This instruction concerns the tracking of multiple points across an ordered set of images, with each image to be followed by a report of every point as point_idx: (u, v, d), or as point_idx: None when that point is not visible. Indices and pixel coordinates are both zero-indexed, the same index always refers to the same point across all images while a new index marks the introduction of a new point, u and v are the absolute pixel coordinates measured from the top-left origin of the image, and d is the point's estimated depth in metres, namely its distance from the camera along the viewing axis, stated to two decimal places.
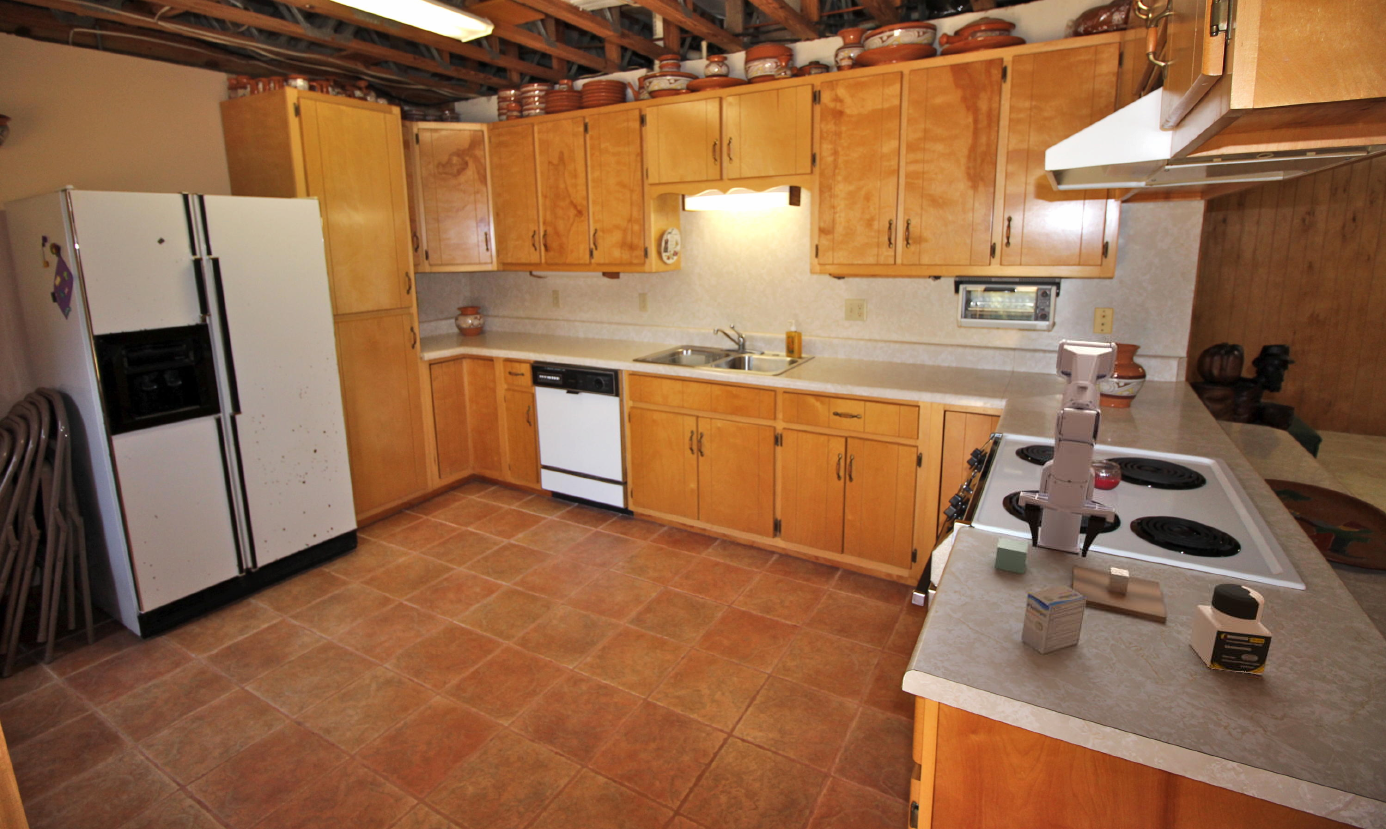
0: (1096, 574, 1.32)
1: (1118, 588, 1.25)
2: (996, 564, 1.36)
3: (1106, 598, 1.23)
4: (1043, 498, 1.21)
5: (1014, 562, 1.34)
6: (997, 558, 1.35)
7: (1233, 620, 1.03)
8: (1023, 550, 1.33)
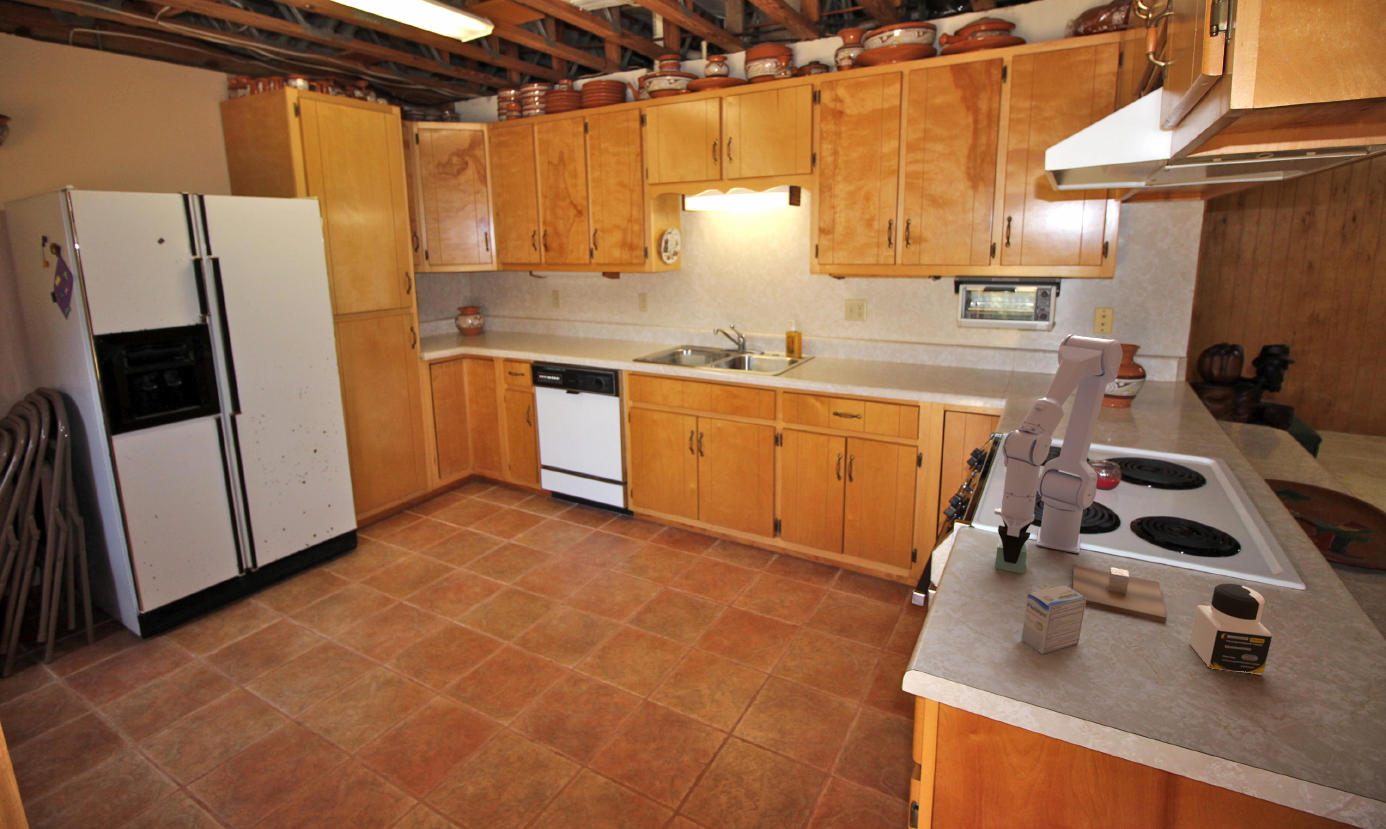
0: (1096, 574, 1.32)
1: (1118, 588, 1.25)
2: (996, 564, 1.36)
3: (1106, 598, 1.23)
4: None
5: None
6: (997, 558, 1.35)
7: (1233, 620, 1.03)
8: (1023, 550, 1.33)
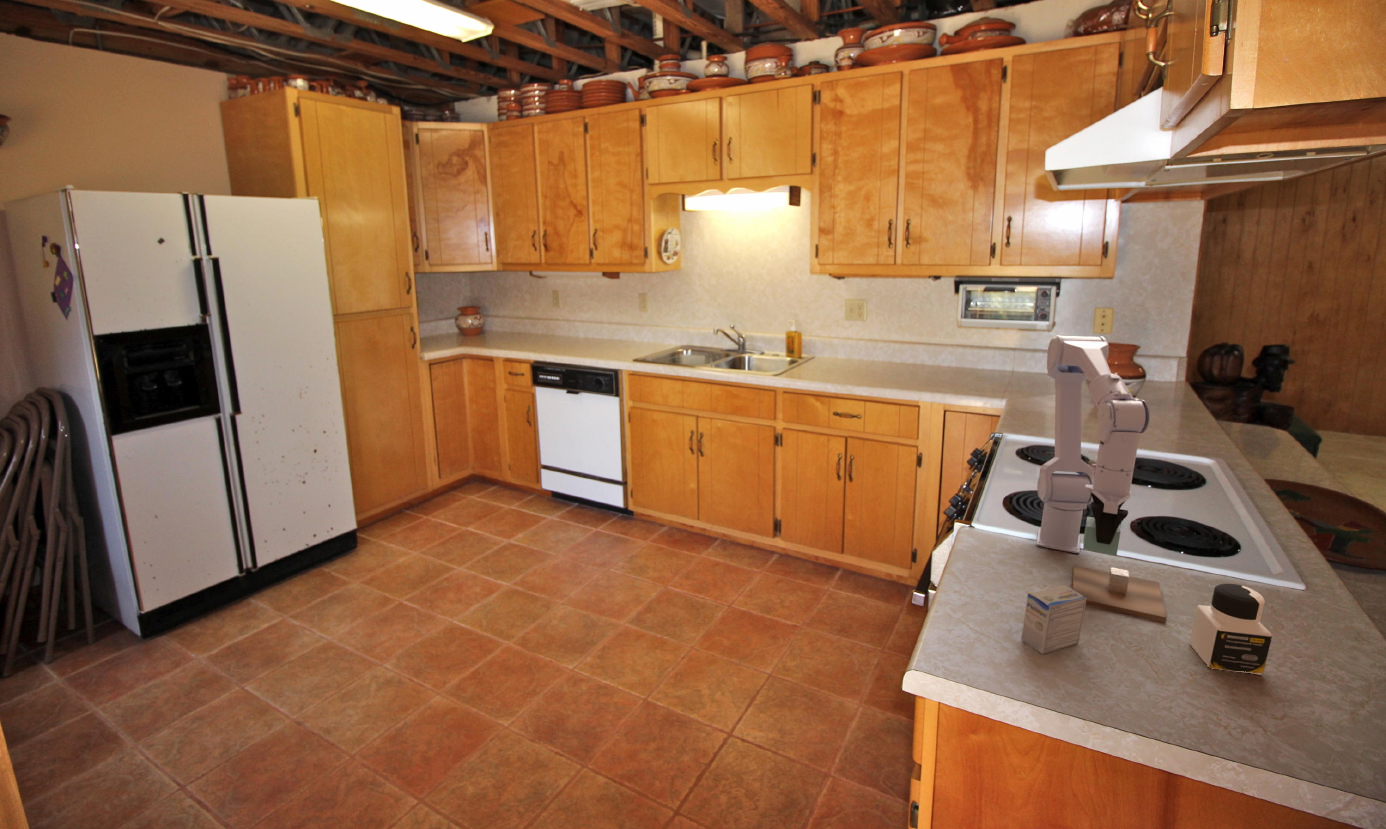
0: (1096, 574, 1.32)
1: (1118, 588, 1.25)
2: (1085, 545, 1.25)
3: (1106, 598, 1.23)
4: None
5: None
6: (1086, 539, 1.25)
7: (1233, 620, 1.03)
8: None
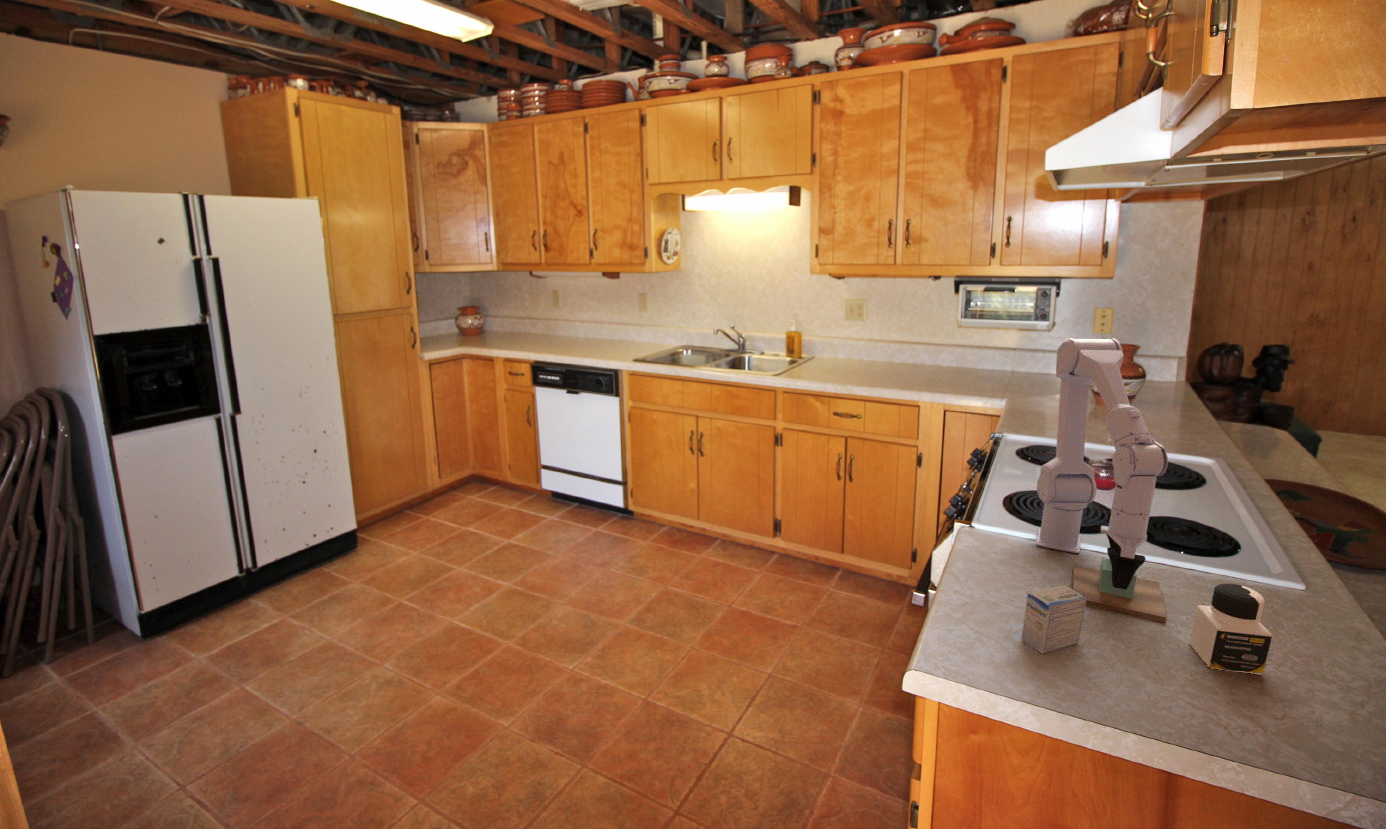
0: (1096, 574, 1.32)
1: None
2: (1101, 588, 1.25)
3: (1106, 598, 1.23)
4: None
5: None
6: (1102, 581, 1.24)
7: (1233, 620, 1.03)
8: None
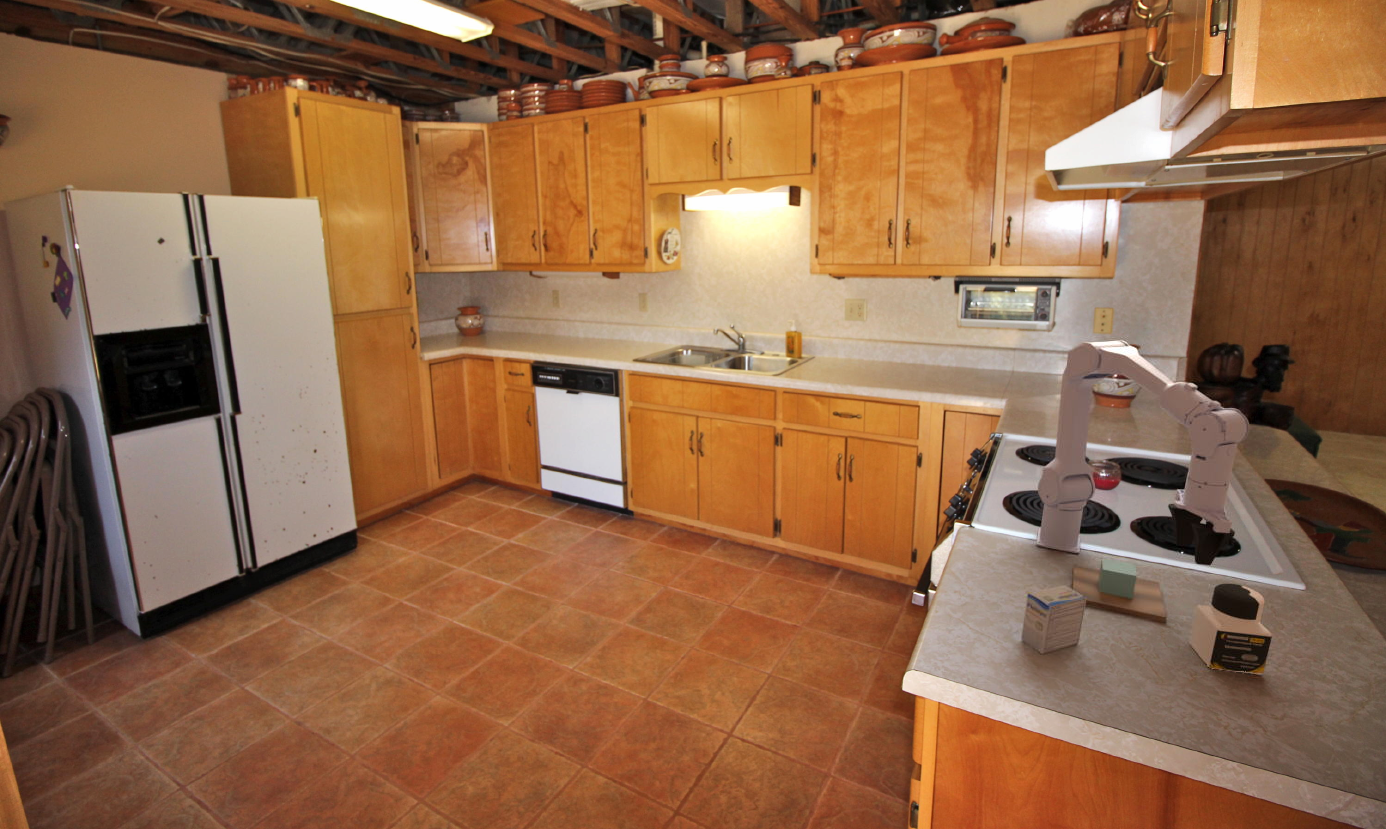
0: (1096, 574, 1.32)
1: None
2: (1101, 588, 1.25)
3: (1106, 598, 1.23)
4: None
5: (1122, 586, 1.23)
6: (1102, 581, 1.24)
7: (1233, 620, 1.03)
8: (1132, 573, 1.22)
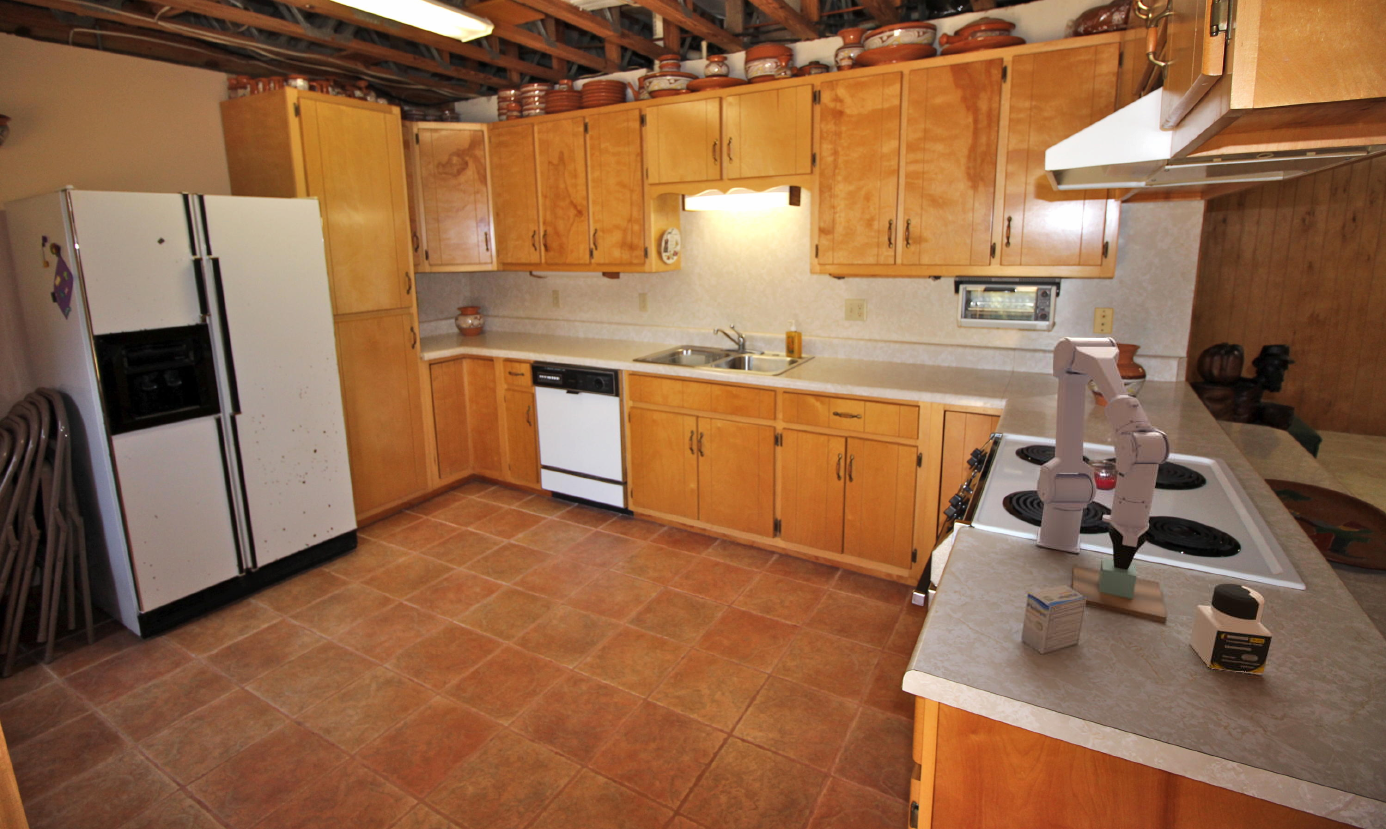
0: (1096, 574, 1.32)
1: None
2: (1101, 588, 1.25)
3: (1106, 598, 1.23)
4: None
5: (1122, 586, 1.23)
6: (1102, 581, 1.24)
7: (1233, 620, 1.03)
8: (1132, 573, 1.22)
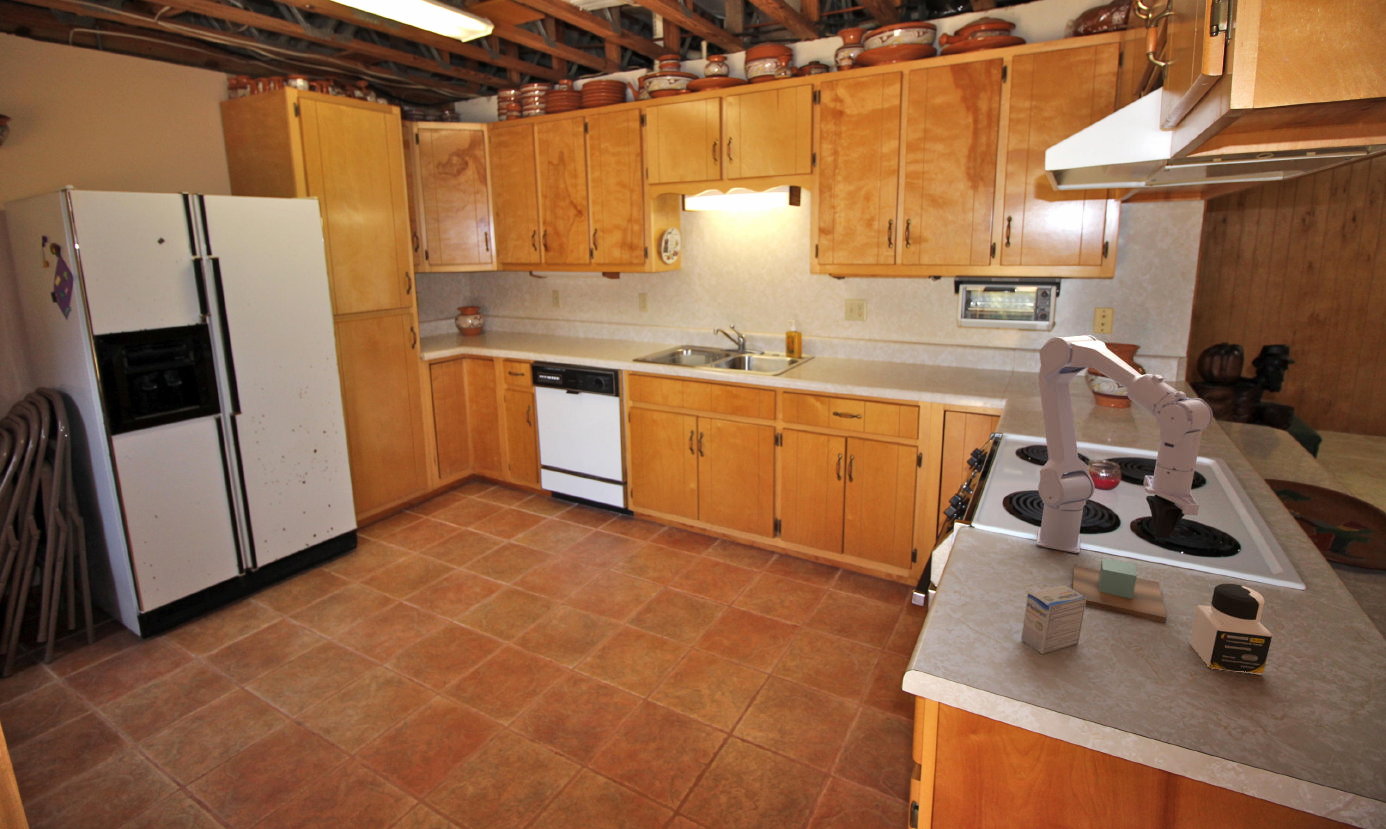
0: (1096, 574, 1.32)
1: None
2: (1101, 588, 1.25)
3: (1106, 598, 1.23)
4: None
5: (1122, 586, 1.23)
6: (1102, 581, 1.24)
7: (1233, 620, 1.03)
8: (1132, 573, 1.22)
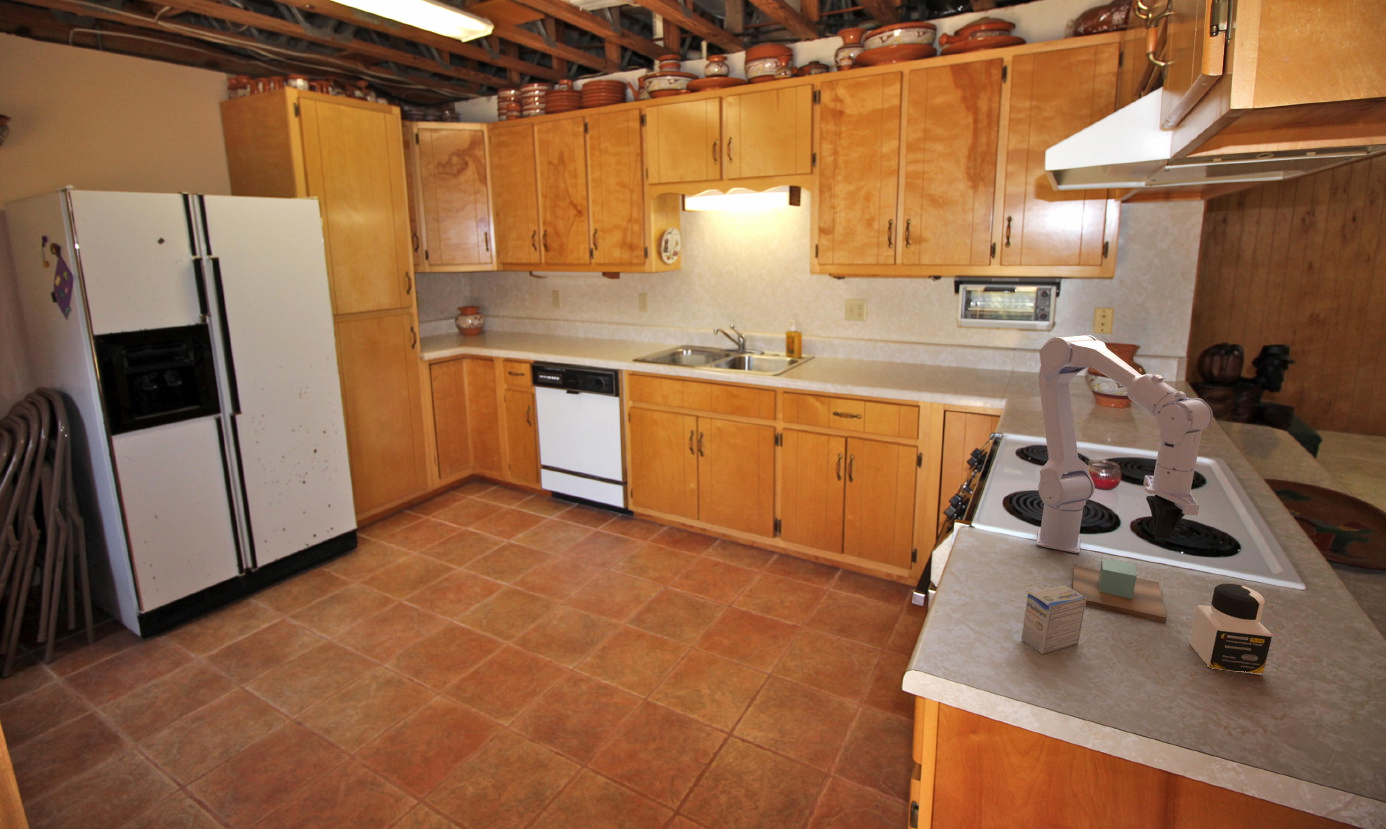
0: (1096, 574, 1.32)
1: None
2: (1101, 588, 1.25)
3: (1106, 598, 1.23)
4: None
5: (1122, 586, 1.23)
6: (1102, 581, 1.24)
7: (1233, 620, 1.03)
8: (1132, 573, 1.22)
